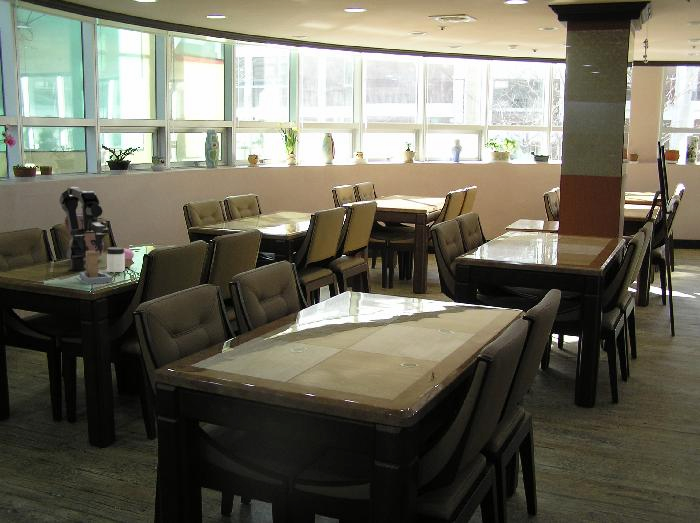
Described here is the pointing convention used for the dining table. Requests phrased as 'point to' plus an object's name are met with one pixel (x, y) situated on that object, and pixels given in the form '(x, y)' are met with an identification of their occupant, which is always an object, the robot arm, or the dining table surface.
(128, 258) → the cupcake
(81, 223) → the ceramic pitcher
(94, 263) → the tan tall block
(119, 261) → the jar
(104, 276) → the grey shallow tray
